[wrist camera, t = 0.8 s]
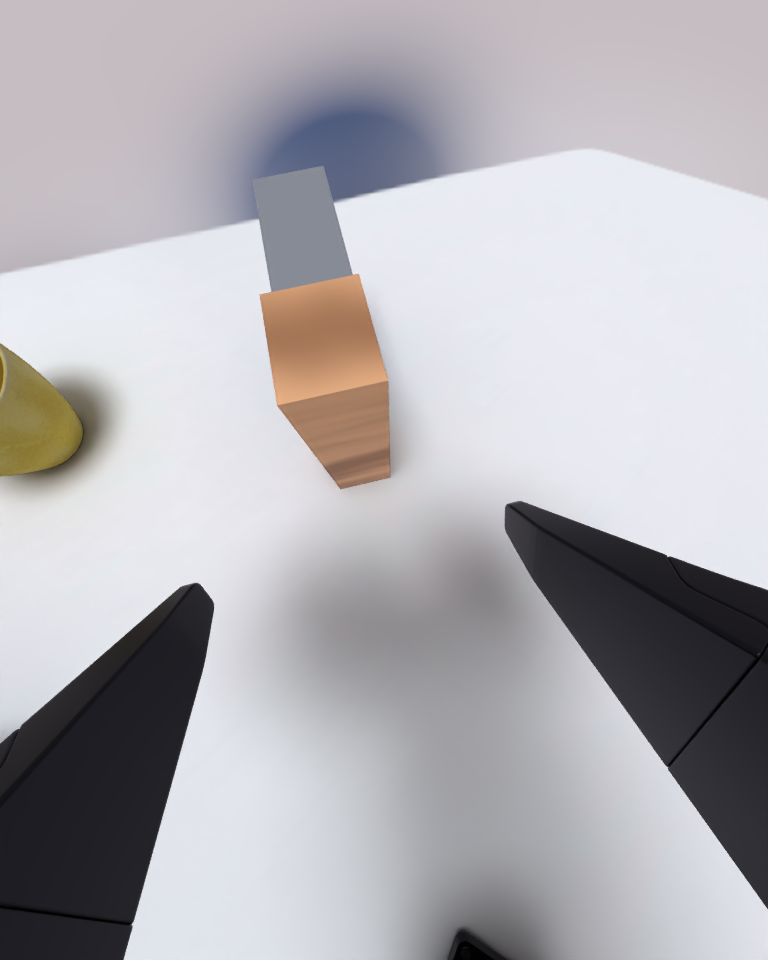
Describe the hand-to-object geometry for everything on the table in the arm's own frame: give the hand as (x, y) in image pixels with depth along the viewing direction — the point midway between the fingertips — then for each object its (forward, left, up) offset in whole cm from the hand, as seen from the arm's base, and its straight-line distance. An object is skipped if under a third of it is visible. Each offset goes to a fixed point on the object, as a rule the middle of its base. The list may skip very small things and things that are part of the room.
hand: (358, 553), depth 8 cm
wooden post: (+5, -6, -13) cm, 16 cm away
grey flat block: (+10, -12, -13) cm, 21 cm away
